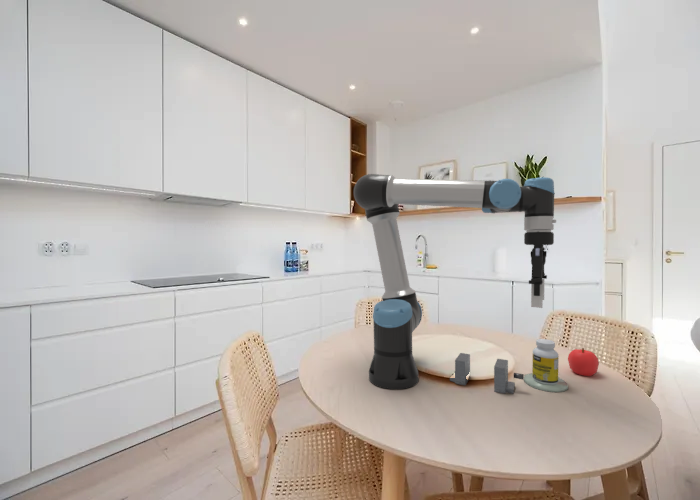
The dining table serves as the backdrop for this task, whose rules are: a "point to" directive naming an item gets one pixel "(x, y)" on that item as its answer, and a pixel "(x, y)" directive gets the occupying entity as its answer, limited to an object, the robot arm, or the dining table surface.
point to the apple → (583, 362)
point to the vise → (499, 374)
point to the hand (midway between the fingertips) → (538, 303)
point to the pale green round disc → (557, 387)
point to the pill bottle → (545, 362)
